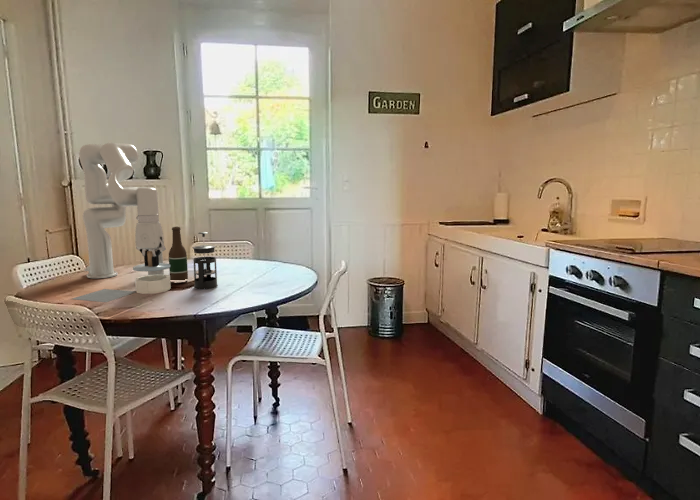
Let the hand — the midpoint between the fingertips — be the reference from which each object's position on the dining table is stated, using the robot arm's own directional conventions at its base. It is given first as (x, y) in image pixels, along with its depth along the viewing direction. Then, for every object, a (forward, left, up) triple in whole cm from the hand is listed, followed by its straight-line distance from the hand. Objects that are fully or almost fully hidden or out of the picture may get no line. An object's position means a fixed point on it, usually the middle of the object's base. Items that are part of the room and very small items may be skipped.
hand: (151, 265), depth 179 cm
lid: (0, 0, -1) cm, 1 cm away
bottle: (-16, +22, -11) cm, 29 cm away
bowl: (0, 0, -11) cm, 11 cm away
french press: (+16, +12, -11) cm, 23 cm away
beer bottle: (-1, +18, -11) cm, 21 cm away
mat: (-12, -12, -11) cm, 20 cm away
